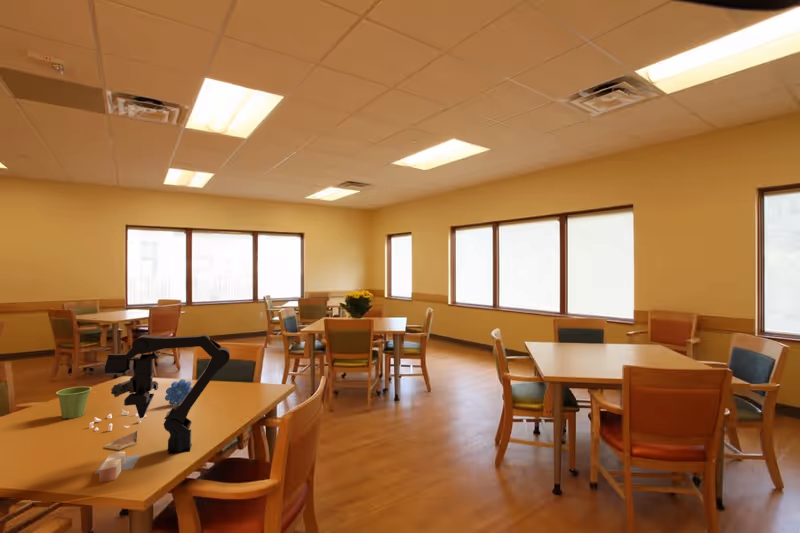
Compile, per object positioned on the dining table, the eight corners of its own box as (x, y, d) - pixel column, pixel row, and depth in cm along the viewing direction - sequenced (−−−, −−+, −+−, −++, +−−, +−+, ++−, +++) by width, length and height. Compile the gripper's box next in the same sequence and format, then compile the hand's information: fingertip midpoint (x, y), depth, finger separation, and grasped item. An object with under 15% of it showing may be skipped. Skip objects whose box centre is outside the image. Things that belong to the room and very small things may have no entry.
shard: (136, 435, 148) (137, 429, 148) (156, 438, 146) (156, 432, 146) (103, 450, 136) (103, 443, 136) (123, 453, 133) (123, 447, 133)
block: (125, 451, 124) (115, 467, 115) (125, 463, 124) (115, 480, 115) (110, 453, 122) (99, 470, 113) (110, 465, 123) (99, 483, 113)
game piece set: (157, 417, 167) (157, 408, 167) (112, 435, 148) (112, 425, 148) (123, 412, 172) (123, 404, 172) (75, 429, 153) (75, 420, 153)
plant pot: (70, 422, 159) (71, 395, 159) (47, 419, 161) (48, 393, 162) (97, 412, 171) (98, 387, 171) (76, 410, 173) (77, 385, 173)
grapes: (193, 400, 189) (193, 376, 189) (192, 404, 183) (192, 379, 183) (165, 403, 184) (166, 378, 184) (163, 407, 178) (164, 382, 178)
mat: (140, 455, 131) (140, 454, 131) (132, 469, 122) (132, 468, 122) (105, 460, 127) (105, 459, 127) (94, 475, 118) (94, 474, 118)
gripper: (122, 367, 137) (121, 411, 137) (105, 381, 120) (103, 431, 119) (158, 365, 141) (157, 407, 141) (147, 378, 124) (145, 426, 124)
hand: (141, 417), depth 131 cm, fingers closed
